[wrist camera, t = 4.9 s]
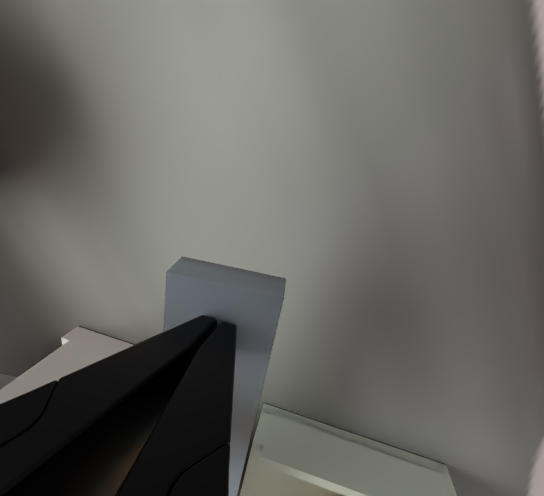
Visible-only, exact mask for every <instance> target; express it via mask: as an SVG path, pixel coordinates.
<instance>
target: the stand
mask: <svg viewBox="0 0 544 496" xmlns="http://www.w3.org/2000/svg"><path fill="white" fill-rule="evenodd" d="M61 340H62V346H61V347H60V348H58V349H57V350H55V351H54V352H53V353H51V354H50V355H48V356H47V357H46V358H44V359H43V360H41V361H40V362H39V363H37V364H36V365H34V366H33V367H32V368H30V369H29V370H27V371H26V372H24V373H23V374H22V375H20V376H19V377H17V378H16V379H15V380H13V381H12V382H10V383H9V384H8V385H6V386H5V387H3V388H2V389H1V390H0V404H1V403H3V402H6V401H8V400H10V399H13V398H15V397H18V396H20V395H22V394H25V393H27V392H29V391H32V390H34V389H36V388H38V387H41V386H43V385H45V384H47V383H50V382H52V381H54V380H57V381H58V380H59V379H60V378H61V377H63V376H66V375H68V374H70V373H72V372H75V371H77V370H79V369H81V368H84V367H86V366H88V365H90V364H93V363H95V362H97V361H99V360H102V359H104V358H106V357H108V356H111V355H113V354H115V353H117V352H120V351H122V350H124V349H126V348H129V347H131V346H133V344H130V343H127V342H124V341H121V340H118V339H114V338H111V337H108V336H105V335H102V334H99V333H96V332H93V331H90V330H87V329H84V328H81V327H76V328H75V329H73V330H72V331H70V332H69V333H67V334H66V335H64V336H63V337H61Z"/></svg>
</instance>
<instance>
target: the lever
mask: <svg viewBox="0 0 544 496" xmlns="http://www.w3.org/2000/svg"><path fill="white" fill-rule="evenodd" d="M285 282H286V278H281V277H276V276H271V275H267V274H262V273H257V272H253V271H248V270H243V269H238V268H234V267H229V266H224V265H220V264H215V263H210V262H205V261H201V260H196V259H191V258H187V257H181V258H180V259H179V260H178V261H177V262H176V263H175V264H174V265H173V266H172V267H171V268H170V269H169V270H168V271H167V272H166V291H165V311H164V331H163V332H165V331H167V330H169V329H171V328H174V327H176V326H178V325H180V324H183V323H185V322H187V321H189V320H192V319H194V318H196V317H198V316H201V315H206V316H210V317H213V318H216V320H217V327H218V326H219V325H220V323H221V322H223V321H226V322H229V323H232V324H235V325H237V338H236V355H235V373H234V391H233V409H232V426H231V443H230V466H229V496H237V493H238V489H239V485H240V480H241V476H242V472H243V468H244V464H245V459H246V455H247V451H248V447H249V442H250V438H251V434H252V430H253V426H254V421H255V417H256V413H257V409H258V405H259V400H260V396H261V392H262V388H263V384H264V379H265V375H266V371H267V367H268V362H269V358H270V354H271V350H272V346H273V341H274V337H275V333H276V329H277V325H278V320H279V316H280V312H281V308H282V304H283V299H284V292H285ZM16 378H17V377H14V376H9V375H5V374H0V390H1V389H2V388H3V387H5V386H6V385H8V384H9V383H10V382H12V381H13V380H15V379H16Z"/></svg>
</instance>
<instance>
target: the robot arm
mask: <svg viewBox="0 0 544 496" xmlns="http://www.w3.org/2000/svg"><path fill="white" fill-rule="evenodd" d="M236 338H237V325H235V324H232V323H229V322H226V321H223V322H221V323H220V325H219V326H218V327H217V320H216V318H213V317H210V316H206V315H201V316H198V317H196V318H194V319H192V320H189V321H187V322H185V323H183V324H180V325H178V326H176V327H174V328H171V329H169V330H167V331H165V332H162V333H160V334H158V335H156V336H153V337H151V338H149V339H147V340H144V341H142V342H140V343H138V344H135V345H133V346H131V347H129V348H126V349H124V350H122V351H120V352H117V353H115V354H113V355H111V356H108V357H106V358H104V359H102V360H99V361H97V362H95V363H93V364H90V365H88V366H86V367H84V368H81V369H79V370H77V371H75V372H72V373H70V374H68V375H66V376H63V377H61V378H60V379H59V380H58V381H57V380H54V381H52V382H50V383H47V384H45V385H43V386H41V387H38V388H36V389H34V390H32V391H29V392H27V393H25V394H22V395H20V396H18V397H15V398H13V399H10V400H8V401H6V402H3V403H1V404H0V496H229V466H230V443H231V426H232V409H233V391H234V373H235V355H236Z"/></svg>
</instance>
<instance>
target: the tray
mask: <svg viewBox="0 0 544 496" xmlns="http://www.w3.org/2000/svg"><path fill="white" fill-rule="evenodd" d="M240 496H457V494H456V492H455V489H454V486H453V483H452V480H451V477H450V475H449V472H448V469H447V466H446V465H444V464H441V463H438V462H435V461H433V460H430V459H427V458H424V457H421V456H418V455H415V454H412V453H409V452H406V451H403V450H400V449H397V448H394V447H391V446H388V445H385V444H382V443H380V442H377V441H374V440H371V439H368V438H365V437H362V436H359V435H356V434H353V433H350V432H347V431H344V430H341V429H338V428H335V427H332V426H329V425H327V424H324V423H321V422H318V421H315V420H312V419H309V418H306V417H303V416H300V415H297V414H294V413H291V412H288V411H285V410H282V409H279V408H276V407H273V406H271V405H268V404H265V403H264V404H263V408H262V411H261V415H260V418H259V422H258V425H257V429H256V432H255V436H254V439H253V443H252V447H251V451H250V455H249V459H248V464H247V468H246V472H245V476H244V480H243V484H242V488H241V492H240Z"/></svg>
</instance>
